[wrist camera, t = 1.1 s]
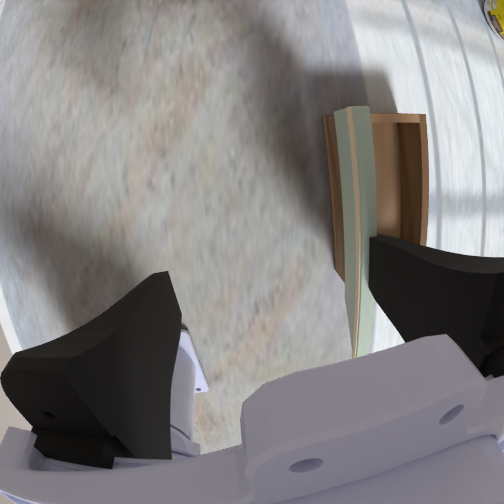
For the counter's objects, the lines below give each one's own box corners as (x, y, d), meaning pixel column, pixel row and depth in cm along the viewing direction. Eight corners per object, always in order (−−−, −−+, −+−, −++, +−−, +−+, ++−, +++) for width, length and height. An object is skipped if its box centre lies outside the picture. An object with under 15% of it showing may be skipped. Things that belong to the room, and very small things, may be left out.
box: (334, 269, 24) (350, 291, 20) (322, 116, 19) (341, 114, 16) (401, 255, 24) (423, 274, 21) (398, 114, 19) (425, 114, 16)
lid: (353, 297, 20) (343, 298, 20) (343, 111, 15) (332, 111, 15) (366, 373, 14) (353, 374, 14) (369, 105, 9) (349, 106, 9)
